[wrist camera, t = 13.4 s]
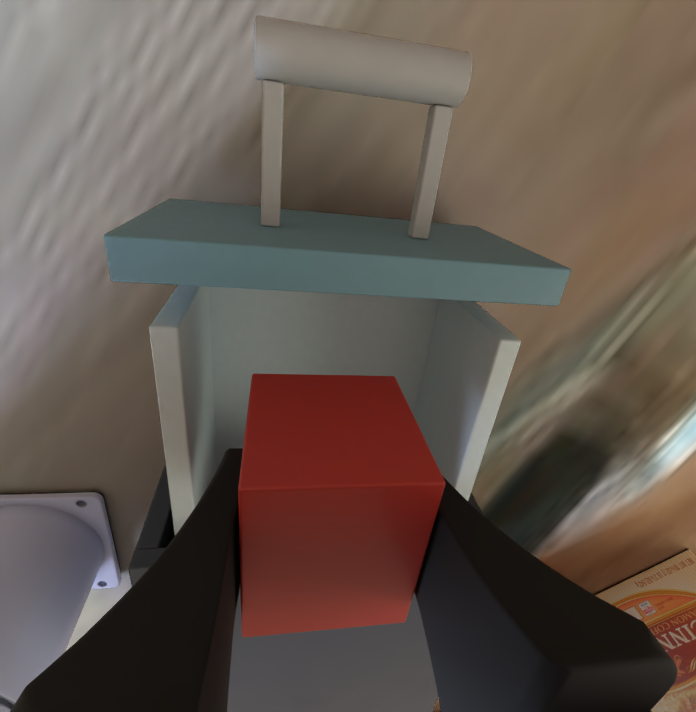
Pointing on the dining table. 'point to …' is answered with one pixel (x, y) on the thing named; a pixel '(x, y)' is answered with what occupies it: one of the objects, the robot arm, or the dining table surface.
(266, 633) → the red block
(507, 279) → the drawer
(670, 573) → the coffeecake box
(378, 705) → the cabinet
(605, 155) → the dining table surface
